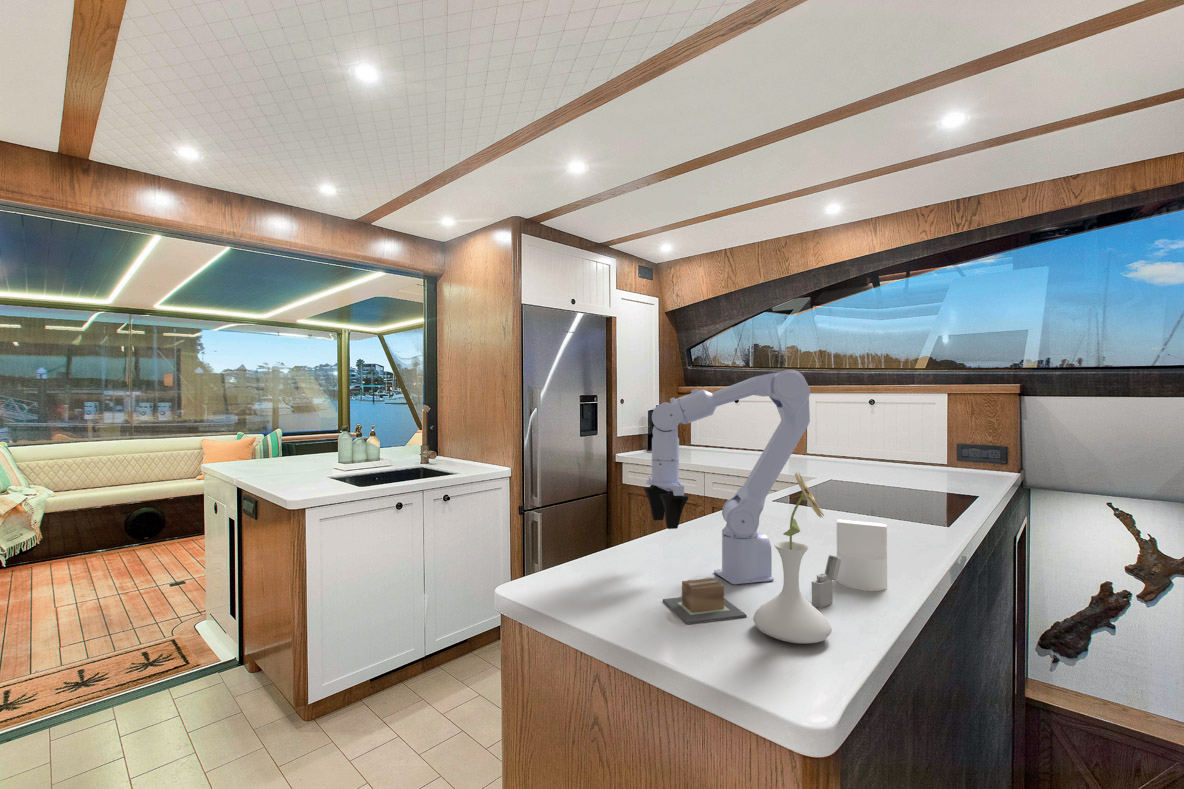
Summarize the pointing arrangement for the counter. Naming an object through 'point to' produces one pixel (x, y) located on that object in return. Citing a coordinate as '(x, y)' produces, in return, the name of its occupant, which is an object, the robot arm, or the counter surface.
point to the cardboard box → (702, 595)
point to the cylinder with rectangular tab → (862, 554)
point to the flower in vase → (793, 592)
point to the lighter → (825, 583)
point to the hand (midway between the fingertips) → (665, 524)
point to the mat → (704, 616)
